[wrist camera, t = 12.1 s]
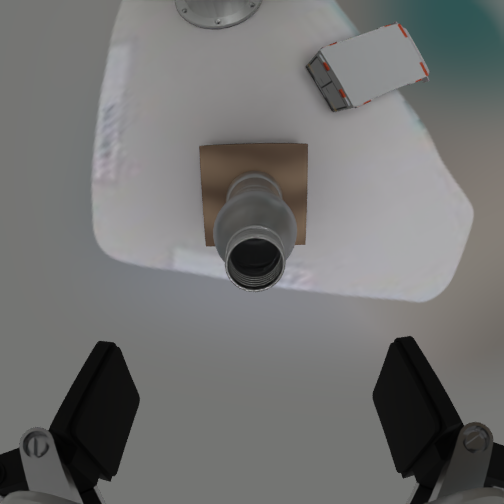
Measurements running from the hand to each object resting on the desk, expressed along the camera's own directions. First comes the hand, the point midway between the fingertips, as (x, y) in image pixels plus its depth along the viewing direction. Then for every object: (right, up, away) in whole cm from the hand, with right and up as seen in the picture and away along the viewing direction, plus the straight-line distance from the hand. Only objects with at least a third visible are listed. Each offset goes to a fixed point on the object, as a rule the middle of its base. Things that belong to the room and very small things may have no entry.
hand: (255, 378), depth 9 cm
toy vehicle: (+16, +31, +25) cm, 43 cm away
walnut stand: (0, +13, +32) cm, 35 cm away
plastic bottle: (0, +11, +27) cm, 29 cm away
